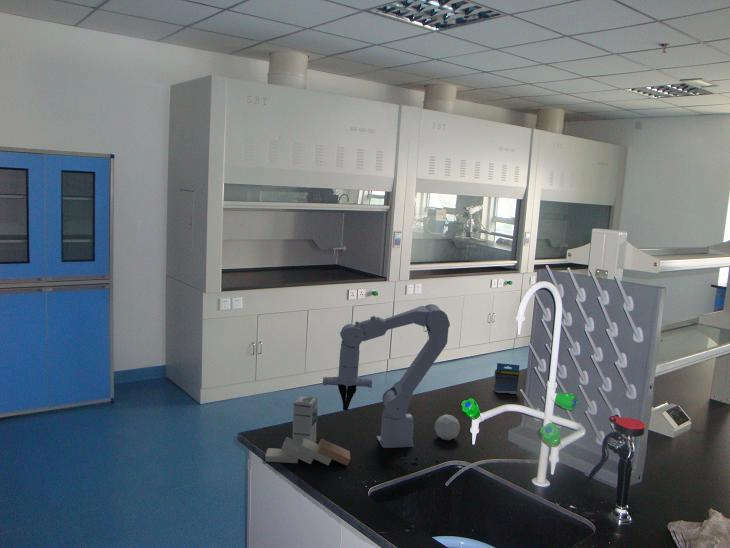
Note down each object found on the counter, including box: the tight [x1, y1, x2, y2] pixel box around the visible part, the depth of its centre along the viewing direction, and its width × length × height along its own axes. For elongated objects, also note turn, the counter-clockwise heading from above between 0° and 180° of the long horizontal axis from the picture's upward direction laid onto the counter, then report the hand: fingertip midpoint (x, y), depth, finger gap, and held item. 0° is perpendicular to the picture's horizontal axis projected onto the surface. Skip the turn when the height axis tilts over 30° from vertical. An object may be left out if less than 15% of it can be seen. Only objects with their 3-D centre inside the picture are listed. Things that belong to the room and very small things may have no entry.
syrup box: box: [292, 395, 319, 444], centre depth 171 cm, size 6×6×14 cm
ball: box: [434, 413, 461, 441], centre depth 183 cm, size 8×8×8 cm
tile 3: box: [280, 436, 314, 465], centre depth 163 cm, size 2×5×9 cm
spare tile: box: [317, 438, 351, 467], centre depth 163 cm, size 2×5×9 cm
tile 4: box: [264, 447, 300, 464], centre depth 164 cm, size 2×5×9 cm
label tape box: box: [492, 362, 520, 393], centre depth 230 cm, size 9×4×12 cm, turn 85°
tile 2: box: [299, 438, 333, 466], centre depth 163 cm, size 2×5×9 cm
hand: (345, 409), depth 175 cm, fingers closed
